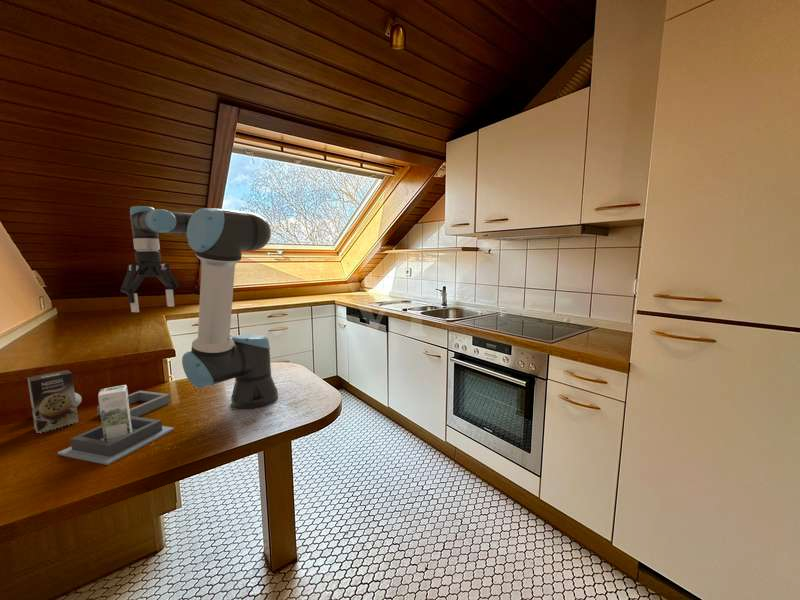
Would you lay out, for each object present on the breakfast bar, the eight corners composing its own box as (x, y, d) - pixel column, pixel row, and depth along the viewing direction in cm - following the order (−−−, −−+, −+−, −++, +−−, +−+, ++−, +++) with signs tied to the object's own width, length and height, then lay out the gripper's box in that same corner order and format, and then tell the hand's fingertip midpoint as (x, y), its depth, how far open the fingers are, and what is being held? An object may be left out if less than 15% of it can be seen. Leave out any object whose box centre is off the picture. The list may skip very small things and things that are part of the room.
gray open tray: (170, 402, 121) (169, 394, 121) (129, 420, 108) (128, 411, 108) (141, 398, 125) (140, 390, 125) (98, 415, 112) (96, 406, 112)
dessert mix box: (37, 434, 100) (29, 381, 98) (34, 428, 104) (25, 377, 102) (79, 422, 108) (72, 372, 106) (75, 417, 111) (67, 368, 109)
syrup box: (133, 431, 100) (126, 383, 98) (131, 440, 95) (125, 389, 93) (107, 437, 97) (100, 388, 95) (104, 447, 92) (97, 394, 90)
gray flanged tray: (174, 429, 102) (172, 417, 101) (107, 465, 85) (105, 451, 84) (129, 422, 107) (127, 411, 106) (57, 454, 90) (55, 441, 89)
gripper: (171, 251, 138) (176, 304, 140) (101, 250, 114) (110, 314, 117) (185, 250, 136) (191, 304, 138) (118, 250, 112) (126, 315, 115)
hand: (154, 309), depth 128 cm, fingers open, 13 cm apart
